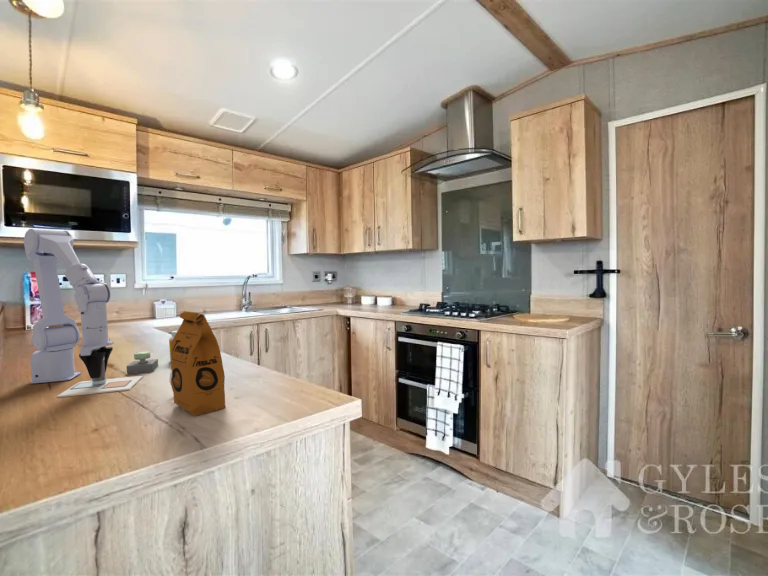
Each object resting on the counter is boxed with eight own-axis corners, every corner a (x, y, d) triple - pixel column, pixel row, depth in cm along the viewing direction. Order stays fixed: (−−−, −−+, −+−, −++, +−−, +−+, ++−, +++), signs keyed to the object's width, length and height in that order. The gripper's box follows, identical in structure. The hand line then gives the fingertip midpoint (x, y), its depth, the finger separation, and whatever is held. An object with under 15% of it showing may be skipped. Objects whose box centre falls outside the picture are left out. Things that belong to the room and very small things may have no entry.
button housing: (127, 373, 120) (126, 366, 120) (134, 368, 127) (133, 361, 127) (152, 371, 122) (152, 363, 122) (158, 366, 129) (157, 358, 129)
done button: (132, 368, 122) (132, 355, 121) (137, 364, 126) (136, 352, 126) (148, 366, 123) (148, 353, 123) (152, 363, 127) (151, 351, 127)
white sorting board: (57, 397, 99) (57, 395, 99) (79, 383, 111) (79, 381, 111) (129, 390, 104) (129, 388, 104) (143, 376, 116) (143, 375, 116)
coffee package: (185, 420, 82) (179, 316, 80) (168, 406, 91) (163, 312, 90) (232, 408, 89) (227, 312, 87) (212, 395, 98) (208, 308, 96)
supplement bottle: (171, 362, 133) (169, 333, 132) (169, 359, 138) (167, 331, 137) (189, 360, 136) (187, 331, 136) (187, 357, 141) (185, 329, 140)
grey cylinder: (90, 385, 106) (88, 356, 106) (94, 382, 109) (92, 354, 109) (103, 384, 107) (101, 355, 107) (107, 381, 110) (105, 353, 110)
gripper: (101, 330, 101) (105, 381, 102) (120, 322, 115) (123, 368, 116) (69, 332, 99) (72, 384, 100) (92, 324, 113) (95, 370, 114)
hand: (98, 376), depth 108 cm, fingers closed on grey cylinder, 3 cm apart
